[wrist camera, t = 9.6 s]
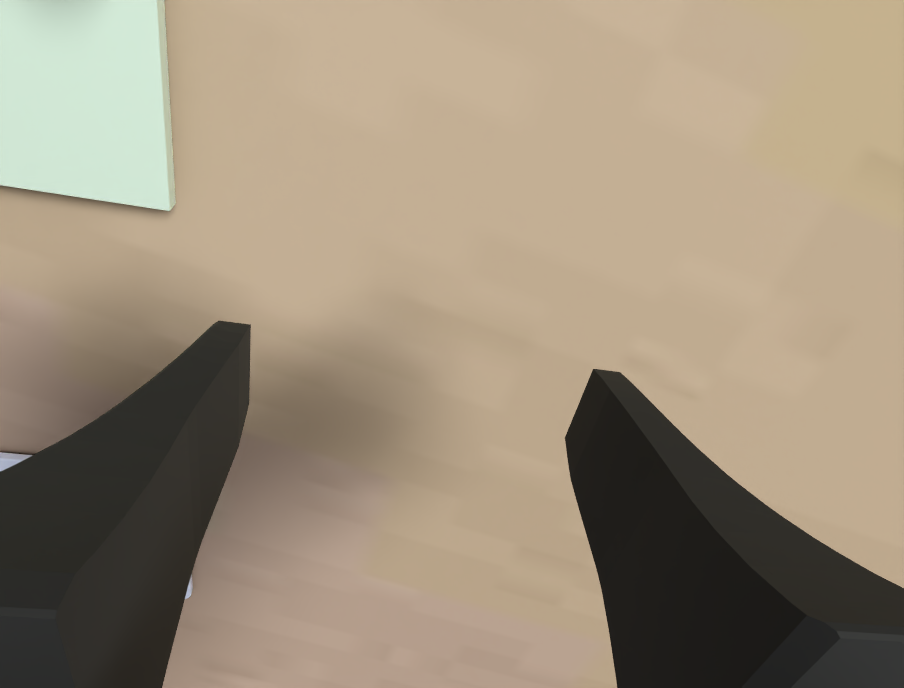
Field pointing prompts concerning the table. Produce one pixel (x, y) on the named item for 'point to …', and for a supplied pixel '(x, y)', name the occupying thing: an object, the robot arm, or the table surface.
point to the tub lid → (86, 100)
